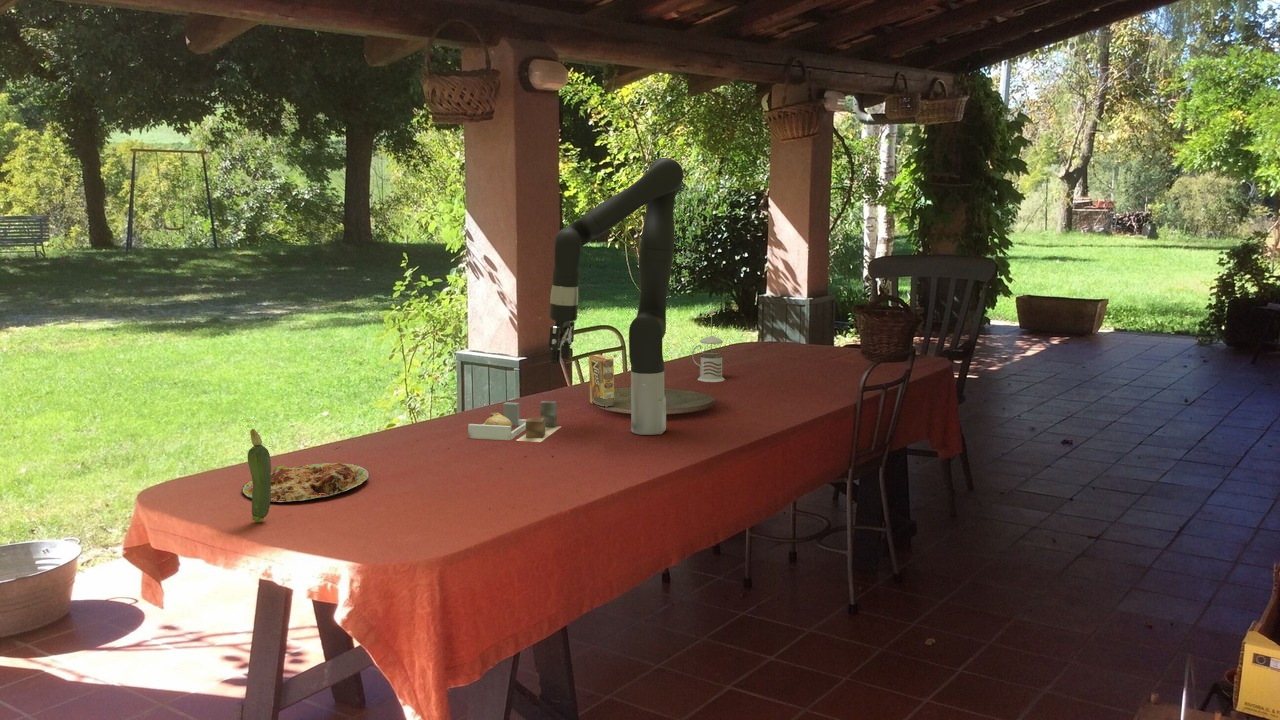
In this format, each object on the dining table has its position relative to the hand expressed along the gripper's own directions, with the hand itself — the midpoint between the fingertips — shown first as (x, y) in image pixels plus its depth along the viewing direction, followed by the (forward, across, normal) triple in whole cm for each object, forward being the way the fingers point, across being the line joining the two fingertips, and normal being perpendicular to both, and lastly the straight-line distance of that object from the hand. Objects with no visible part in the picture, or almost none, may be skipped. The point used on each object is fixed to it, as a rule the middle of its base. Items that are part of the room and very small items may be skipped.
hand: (560, 361), depth 279 cm
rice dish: (+25, -61, +40) cm, 77 cm away
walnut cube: (+20, -8, +3) cm, 22 cm away
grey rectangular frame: (+22, -5, +14) cm, 26 cm away
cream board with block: (+21, -5, +3) cm, 22 cm away
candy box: (+20, +40, -2) cm, 45 cm away
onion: (+22, -8, +14) cm, 27 cm away
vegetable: (+25, -86, +34) cm, 95 cm away
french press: (+18, +89, -27) cm, 95 cm away
